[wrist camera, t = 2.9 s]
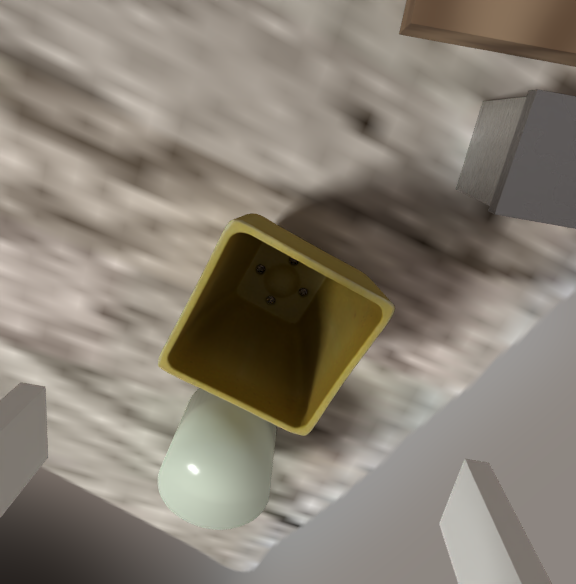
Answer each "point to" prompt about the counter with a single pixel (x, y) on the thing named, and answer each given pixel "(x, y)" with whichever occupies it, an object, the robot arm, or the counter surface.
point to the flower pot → (275, 325)
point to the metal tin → (525, 158)
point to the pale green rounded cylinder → (218, 464)
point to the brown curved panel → (498, 26)
